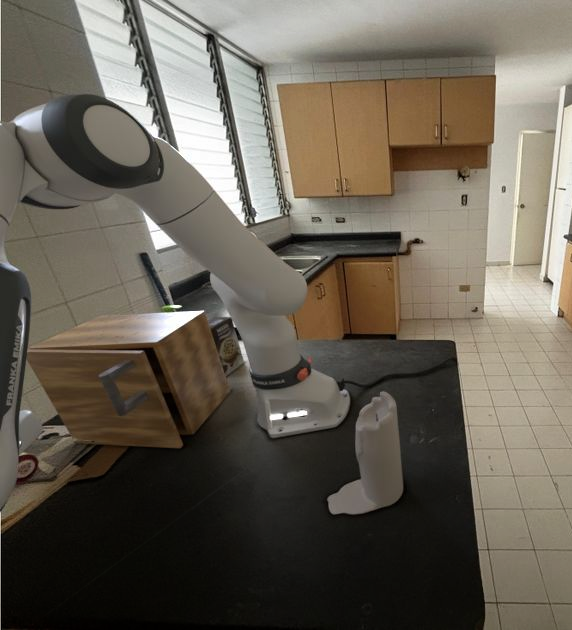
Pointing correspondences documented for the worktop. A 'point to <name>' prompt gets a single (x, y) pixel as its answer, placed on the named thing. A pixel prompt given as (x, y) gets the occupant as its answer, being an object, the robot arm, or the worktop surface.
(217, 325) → the coffee box
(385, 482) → the white l-shaped piece
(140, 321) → the cupboard
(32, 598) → the worktop surface
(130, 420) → the cupboard door
